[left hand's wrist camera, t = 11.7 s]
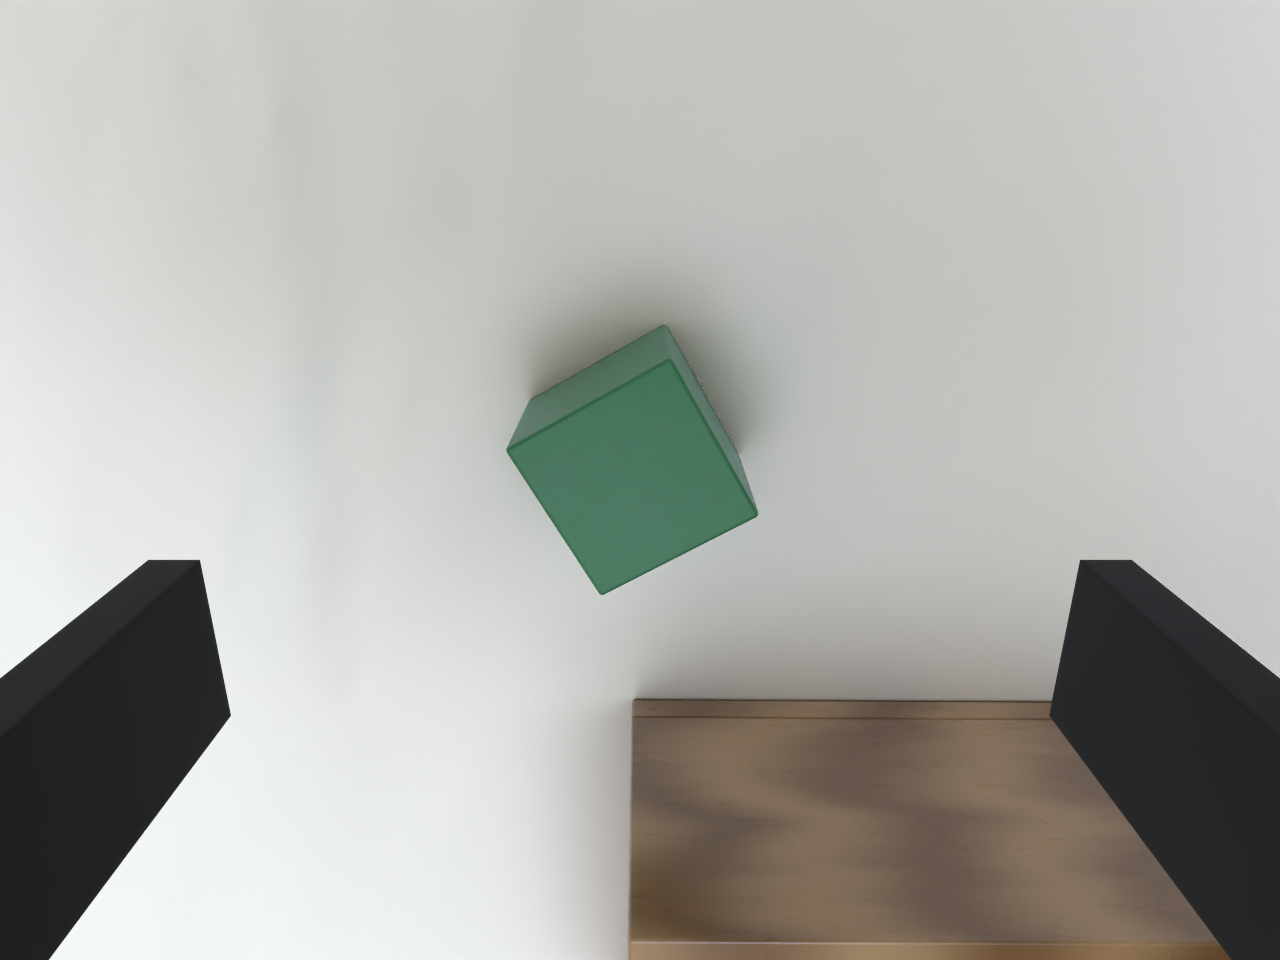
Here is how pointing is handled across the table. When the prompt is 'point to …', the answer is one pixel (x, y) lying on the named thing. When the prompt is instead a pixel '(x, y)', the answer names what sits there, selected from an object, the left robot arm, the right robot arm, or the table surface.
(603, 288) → the table surface
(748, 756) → the chest
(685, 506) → the block
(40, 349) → the table surface
